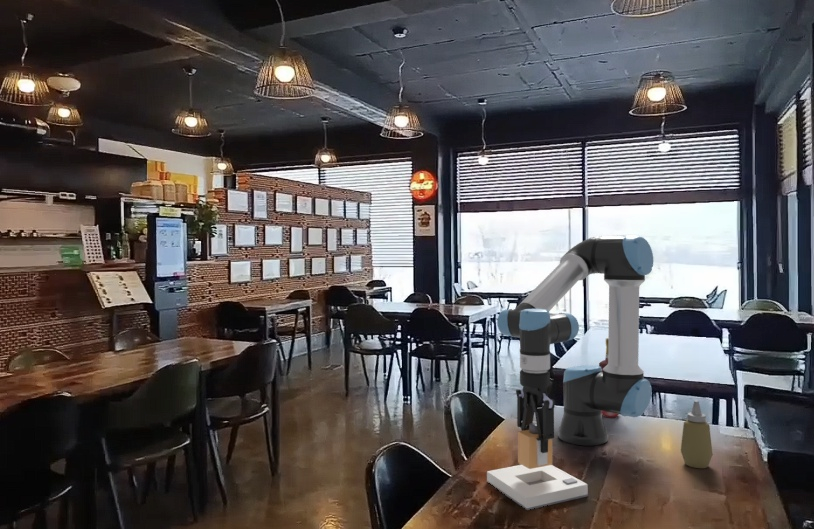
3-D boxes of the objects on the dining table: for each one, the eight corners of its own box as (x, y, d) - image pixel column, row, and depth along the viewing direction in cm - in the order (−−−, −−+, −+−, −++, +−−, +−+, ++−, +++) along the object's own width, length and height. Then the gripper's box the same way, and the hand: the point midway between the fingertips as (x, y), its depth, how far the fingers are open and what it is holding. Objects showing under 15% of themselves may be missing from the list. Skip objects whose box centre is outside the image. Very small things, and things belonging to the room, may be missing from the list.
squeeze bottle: (716, 471, 160) (716, 406, 160) (684, 469, 162) (684, 404, 161) (707, 460, 168) (707, 398, 168) (677, 459, 170) (677, 397, 169)
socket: (487, 482, 155) (486, 469, 155) (543, 471, 163) (543, 458, 162) (527, 510, 139) (526, 496, 139) (587, 496, 146) (587, 482, 146)
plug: (517, 462, 151) (517, 423, 151) (540, 458, 154) (540, 420, 154) (529, 469, 147) (529, 429, 146) (552, 464, 149) (552, 425, 149)
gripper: (502, 365, 156) (503, 451, 157) (544, 378, 140) (544, 475, 141) (526, 362, 159) (526, 447, 160) (569, 375, 143) (570, 470, 144)
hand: (535, 460), depth 150 cm, fingers closed on plug, 5 cm apart
